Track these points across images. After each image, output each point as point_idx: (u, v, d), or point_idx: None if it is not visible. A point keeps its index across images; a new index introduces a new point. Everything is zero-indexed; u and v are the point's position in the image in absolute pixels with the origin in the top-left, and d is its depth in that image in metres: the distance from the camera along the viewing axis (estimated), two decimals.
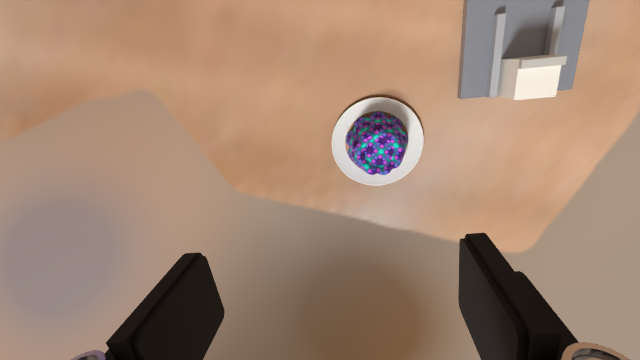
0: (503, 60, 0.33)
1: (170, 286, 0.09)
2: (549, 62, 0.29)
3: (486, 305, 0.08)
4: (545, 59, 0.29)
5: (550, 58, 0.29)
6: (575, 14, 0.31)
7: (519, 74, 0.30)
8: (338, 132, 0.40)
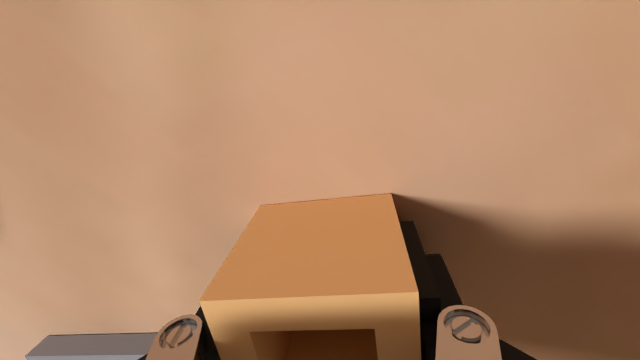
0: None
1: None
2: None
3: None
4: None
5: None
6: None
7: None
8: None
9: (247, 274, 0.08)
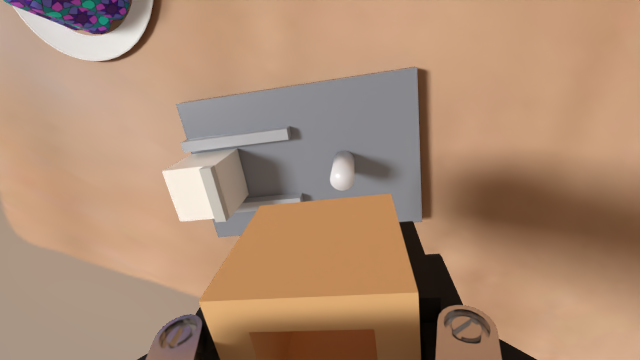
0: (232, 150, 0.23)
1: None
2: (214, 203, 0.20)
3: None
4: (216, 197, 0.20)
5: (219, 203, 0.20)
6: None
7: (196, 169, 0.20)
8: None
9: (247, 274, 0.08)
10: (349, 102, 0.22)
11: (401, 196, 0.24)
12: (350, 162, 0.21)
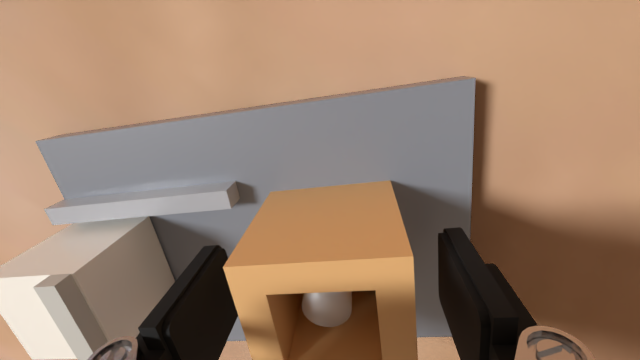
0: (138, 221, 0.13)
1: (194, 276, 0.10)
2: (76, 344, 0.10)
3: (458, 294, 0.08)
4: (79, 335, 0.10)
5: (87, 344, 0.10)
6: None
7: (39, 280, 0.10)
8: None
9: (263, 246, 0.09)
10: (342, 142, 0.12)
11: (432, 296, 0.14)
12: None
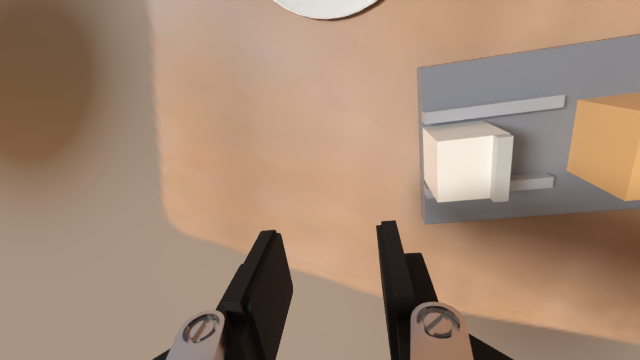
0: (483, 121, 0.20)
1: (261, 257, 0.10)
2: (502, 178, 0.17)
3: (382, 279, 0.09)
4: (508, 171, 0.17)
5: (508, 178, 0.17)
6: (529, 204, 0.23)
7: (483, 139, 0.17)
8: None
9: None
10: None
11: None
12: None
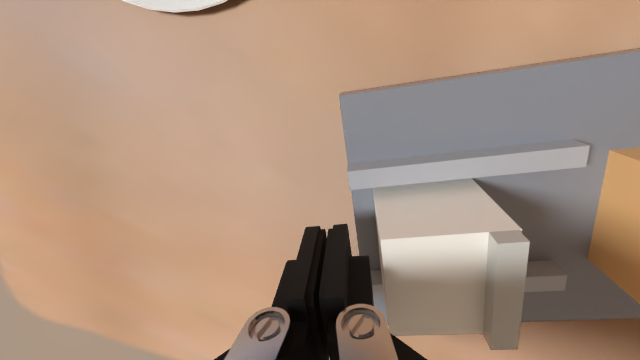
0: (472, 183, 0.12)
1: (312, 253, 0.10)
2: (505, 313, 0.09)
3: None
4: (518, 302, 0.09)
5: (517, 313, 0.09)
6: (527, 304, 0.14)
7: (468, 239, 0.09)
8: None
9: None
10: None
11: None
12: None
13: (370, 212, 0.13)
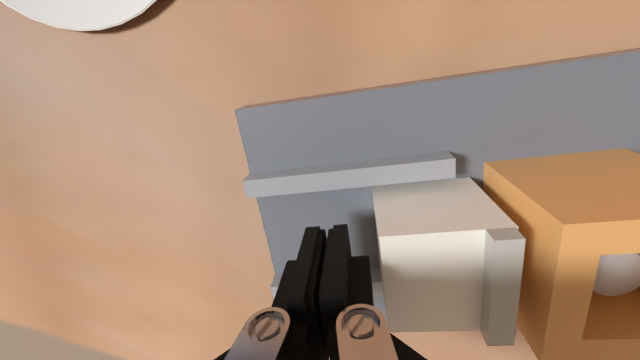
0: (470, 182, 0.12)
1: (312, 253, 0.10)
2: (502, 310, 0.09)
3: None
4: (514, 299, 0.09)
5: (513, 310, 0.09)
6: None
7: (465, 236, 0.09)
8: None
9: (579, 205, 0.08)
10: (581, 107, 0.11)
11: None
12: None
13: (276, 218, 0.14)
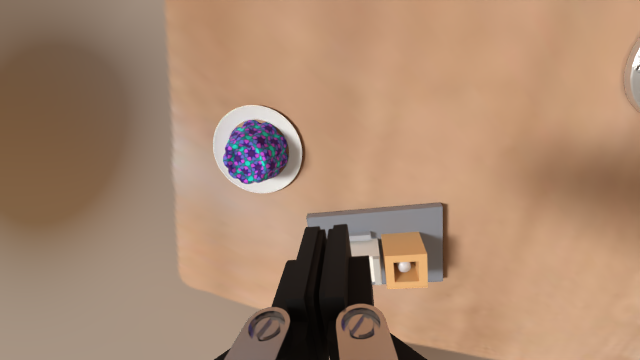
0: (376, 240, 0.41)
1: (312, 253, 0.10)
2: (377, 275, 0.38)
3: None
4: (379, 272, 0.38)
5: (380, 275, 0.38)
6: None
7: None
8: (277, 118, 0.37)
9: (391, 251, 0.37)
10: (405, 221, 0.40)
11: (431, 267, 0.42)
12: None
13: None
